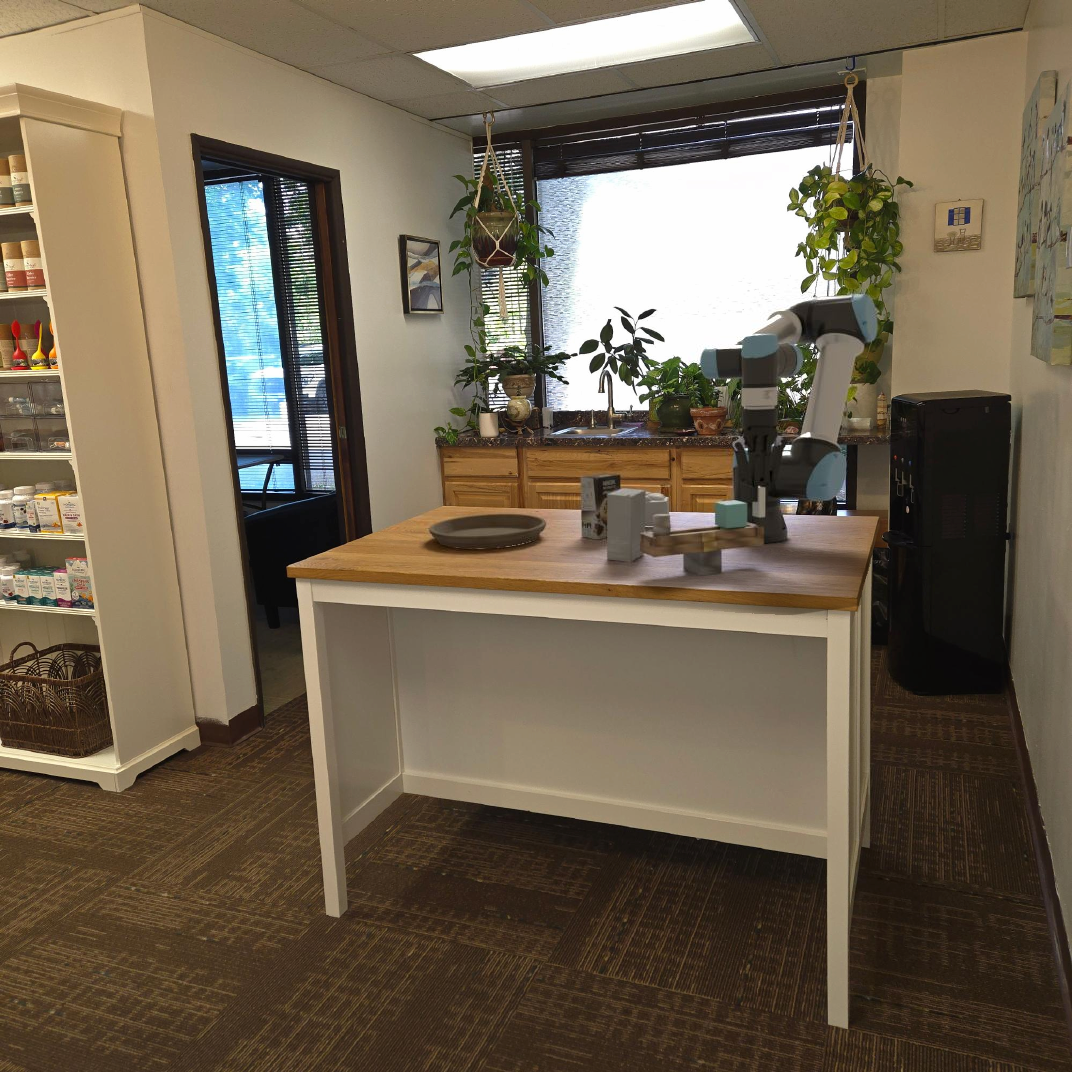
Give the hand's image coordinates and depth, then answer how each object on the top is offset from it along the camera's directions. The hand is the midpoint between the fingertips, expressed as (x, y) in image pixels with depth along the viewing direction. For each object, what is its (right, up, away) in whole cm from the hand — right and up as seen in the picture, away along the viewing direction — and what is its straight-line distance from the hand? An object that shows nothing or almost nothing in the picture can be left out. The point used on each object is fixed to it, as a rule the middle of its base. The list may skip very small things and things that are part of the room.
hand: (758, 516), depth 205 cm
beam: (-13, -12, -2) cm, 18 cm away
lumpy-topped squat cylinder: (-18, -1, +56) cm, 59 cm away
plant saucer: (-61, -6, +44) cm, 76 cm away
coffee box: (-31, -5, +42) cm, 52 cm away
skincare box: (-28, -10, +14) cm, 32 cm away
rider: (-6, -4, -1) cm, 8 cm away
